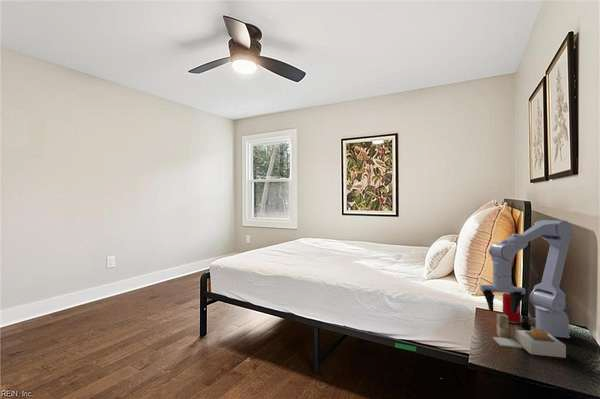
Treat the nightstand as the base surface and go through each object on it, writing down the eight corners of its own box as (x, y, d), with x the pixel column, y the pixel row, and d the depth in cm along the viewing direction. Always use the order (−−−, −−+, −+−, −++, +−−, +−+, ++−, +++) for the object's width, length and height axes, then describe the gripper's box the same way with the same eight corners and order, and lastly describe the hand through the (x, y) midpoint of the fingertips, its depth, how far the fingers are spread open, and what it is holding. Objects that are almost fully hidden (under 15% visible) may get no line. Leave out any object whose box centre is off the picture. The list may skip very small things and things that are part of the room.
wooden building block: (504, 335, 112) (504, 314, 112) (508, 338, 109) (508, 316, 109) (496, 334, 112) (496, 313, 112) (499, 337, 109) (499, 316, 110)
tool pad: (512, 340, 107) (512, 338, 107) (521, 348, 101) (521, 346, 101) (493, 338, 109) (493, 336, 109) (501, 346, 102) (501, 344, 102)
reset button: (541, 338, 102) (541, 329, 102) (547, 342, 99) (547, 333, 99) (530, 337, 103) (530, 328, 103) (536, 341, 100) (536, 332, 100)
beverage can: (523, 324, 122) (523, 295, 122) (507, 323, 123) (506, 294, 124) (515, 319, 128) (515, 291, 128) (500, 317, 129) (500, 290, 130)
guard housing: (547, 343, 105) (546, 331, 105) (566, 357, 95) (565, 344, 95) (515, 340, 107) (515, 328, 107) (530, 354, 97) (530, 340, 97)
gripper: (485, 276, 109) (485, 313, 108) (529, 278, 106) (530, 316, 105) (477, 272, 116) (478, 307, 115) (519, 274, 112) (519, 310, 112)
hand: (502, 311), depth 111 cm, fingers open, 7 cm apart
